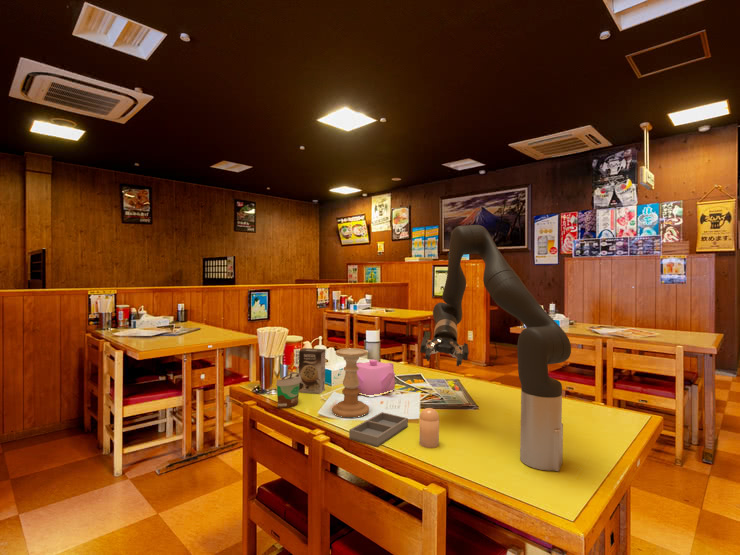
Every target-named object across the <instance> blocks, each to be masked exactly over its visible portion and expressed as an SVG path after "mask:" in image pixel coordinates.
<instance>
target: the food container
mask: <svg viewBox="0 0 740 555" xmlns="http://www.w3.org/2000/svg"><path fill="white" fill-rule="evenodd" d="M301 381H302V380H301V376H300V374H299V372H295V371H289V374H288V375H286V376H284V377H282V378H281V379H276V382H275V383H276V385H275V386H276V388H277V389H276V390H277V392H276V394H277V409H290V408H291V409H292V408H294V407H296V406H297V405H298V404H299V397H300V396H299V394H300V392H299V384H300V382H301Z"/></svg>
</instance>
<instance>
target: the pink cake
mask: <svg viewBox="0 0 740 555" xmlns="http://www.w3.org/2000/svg"><path fill="white" fill-rule="evenodd" d="M356 365H357V367H358V368H359V370H358V371H357V376H358V380H359V386H358V387H357V388H358V389H359V390H360V393H362V394H366V395H374V394H380V393H384V392H387V391H390V390H393V389H394V390H395V386H396V385H395V384H396V382H395V381H396V380H395V376H396V373H395V370H394V363H392V362H386V363H385V362H381V361H379V360H377V359H373V358H372V359H370V360H369V361H367V362H357V363H356Z"/></svg>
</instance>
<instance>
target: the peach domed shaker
mask: <svg viewBox="0 0 740 555" xmlns="http://www.w3.org/2000/svg"><path fill="white" fill-rule="evenodd" d="M418 439H419V445H420V446H421V447H423V448H427V449H434V448H438V447H439V446H440V415H439V413H438V411H437V410H436V409H434V408H432V407H427V408H424V409H422V410H421V412H420V414H419V438H418Z"/></svg>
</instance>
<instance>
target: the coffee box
mask: <svg viewBox="0 0 740 555" xmlns="http://www.w3.org/2000/svg"><path fill="white" fill-rule="evenodd" d="M326 351H327V350H326V349H324V348H323V349H322V348H307V347H304V348H301V349H300V350H299V351H298V373H299V374H300V376H301V380H302V381H301V382H300V384H299V393H303V394H316V395H317V394H319V395H320V394H322V393H323V392H325V390H326V386H325V383H326V382H325V381H326V353H327V352H326Z"/></svg>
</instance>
